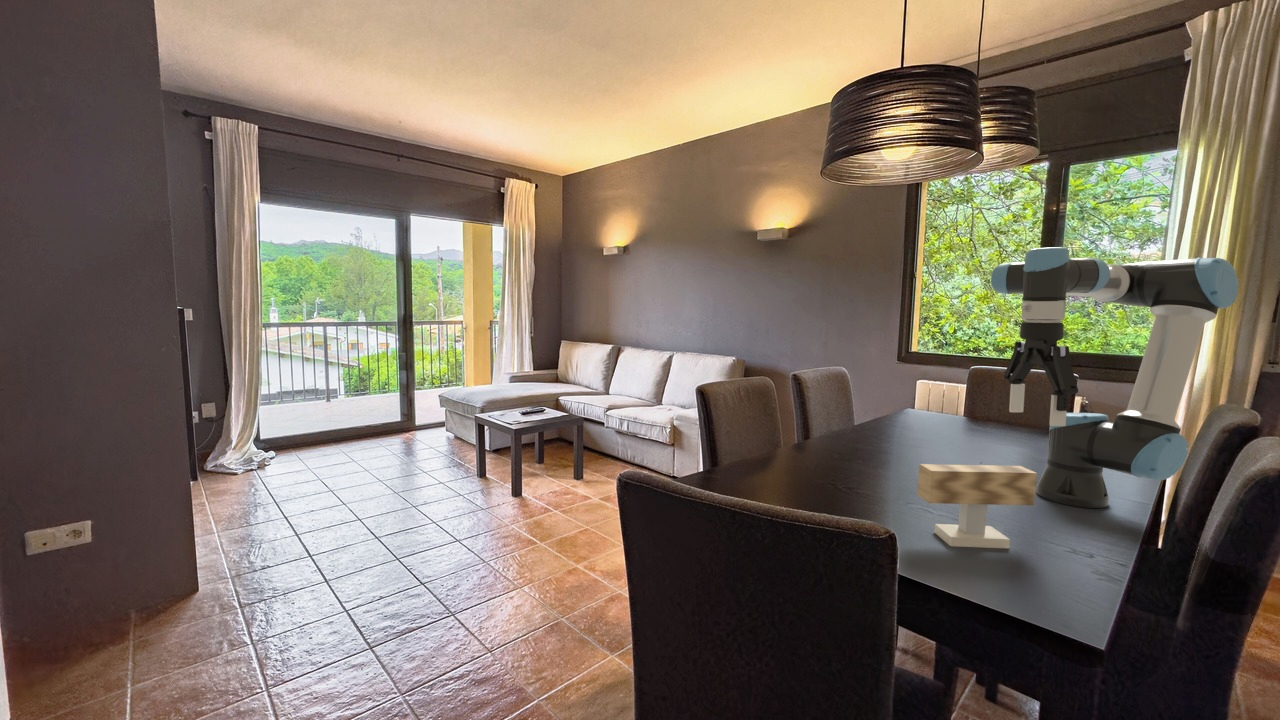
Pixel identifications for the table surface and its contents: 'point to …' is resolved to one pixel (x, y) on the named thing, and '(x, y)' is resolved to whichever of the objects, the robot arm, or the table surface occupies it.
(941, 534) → the stand
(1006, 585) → the table surface
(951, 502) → the batten
